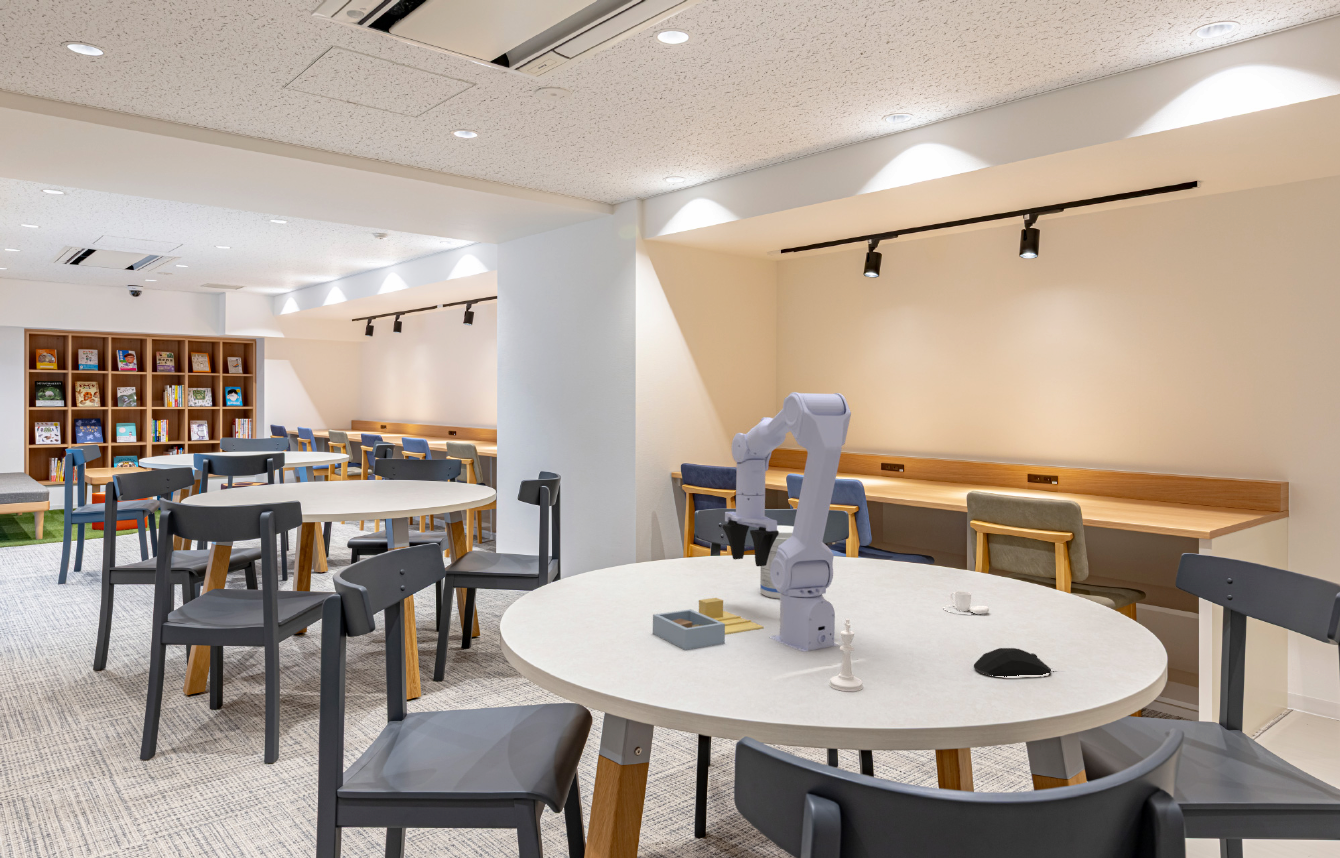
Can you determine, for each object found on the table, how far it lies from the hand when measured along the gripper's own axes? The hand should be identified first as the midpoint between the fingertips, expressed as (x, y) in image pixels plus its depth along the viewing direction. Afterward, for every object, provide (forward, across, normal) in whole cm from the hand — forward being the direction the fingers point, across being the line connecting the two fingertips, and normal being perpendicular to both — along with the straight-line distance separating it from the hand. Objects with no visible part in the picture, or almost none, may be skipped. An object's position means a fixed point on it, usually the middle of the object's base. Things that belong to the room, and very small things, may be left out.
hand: (749, 562), depth 160 cm
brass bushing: (+10, +12, -20) cm, 25 cm away
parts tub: (+10, +10, -21) cm, 25 cm away
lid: (+10, +5, -10) cm, 15 cm away
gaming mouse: (+11, +49, +17) cm, 53 cm away
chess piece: (+11, +40, -12) cm, 43 cm away
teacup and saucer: (+11, +21, +39) cm, 46 cm away
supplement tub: (+11, -10, +17) cm, 22 cm away
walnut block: (+10, +9, -22) cm, 25 cm away
